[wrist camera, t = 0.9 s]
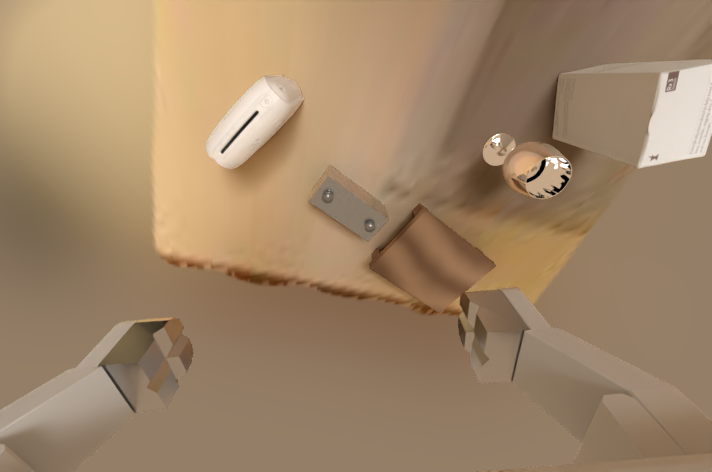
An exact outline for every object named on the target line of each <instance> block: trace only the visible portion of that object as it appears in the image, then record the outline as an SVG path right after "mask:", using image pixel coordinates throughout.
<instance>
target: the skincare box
mask: <svg viewBox="0 0 712 472" xmlns="http://www.w3.org/2000/svg"><path fill="white" fill-rule="evenodd" d="M711 135H712V59H708V60H683V61H663V62H640V63H618V64H605V65H600V66H595V67H590V68H585V69H581V70H576V71H571V72H566V73H562V74H559V77H558V86H557V96H556V105H555V115H554V127H553V135H552V139H555V140H558V141H561V142H564V143H567V144H570V145H573V146H576V147H579V148H582V149H585V150H588V151H590V152H593V153H596V154H599V155H602V156H605V157H608V158H611V159H614V160H617V161H620V162H623V163H626V164H628V165H631V166H634V167H636V168H643V167H648V166H654V165H659V164H664V163H669V162H674V161H679V160H684V159H690V158H696V157H701V156H704V155H705V153H706V150H707V147H708V144H709V141H710V138H711Z"/></svg>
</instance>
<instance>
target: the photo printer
mask: <svg viewBox="0 0 712 472" xmlns="http://www.w3.org/2000/svg"><path fill="white" fill-rule="evenodd" d="M303 100H304V98H303V97H302V93H301V89H300V87H299V86H298V84H297V83H296V82H295V81H293V80H292V79H289V78H285V77H284V75H272V76H264V77H262V78H261V79H259V80H258V81H257V82H255V83H254V84H253V85H252V86H251V87H250V88H249V89H248V90H247V91H246V92H245V93H244V94H243V95H242V96H241V97H240V98H239V99H238V100H237V102H236V103H235V104H234V105H233V106H232V107H231V108H230V110H229V111H228V112H227V113H226V114H225V116H224V117H223V118H222V119H221V121H220V122H219V123H218V124H217V126H216V127H215V128H214V130H213V131H212V133H211V134H210V136H209V138H208V140H207V143H206V146H205V147H206V151H207V153H208V155H209V156H210V157H211V158H213V159H214V160H215V161H216V162H217V163H218V164H219V165H220V166H222V167H224V168H227V169H235V168H237V167H239V166H240V165H242V164H243V163H244V162H245V161H246V160H248V159H249V158H250V157H251V156H252V155H253V154H254V153H255V152H256V151H257V150H258V149H259V148H260V147H262V146H263V145H264V144H265V143H266V142H267V141H268V140H269V139H270V138H271V137H272V136H273V135H274V134H275V133H276V132H277V131H278V130H279V129H280V128H281V127H282V126H283V125H284V124H285V123H286V121H287V120H288V119H289V118H290V117H291V116H292V115H293V114H294V113H295V111H296V110H297V109H298V108H299V106H300V105H301V103H302V102H303Z"/></svg>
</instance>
